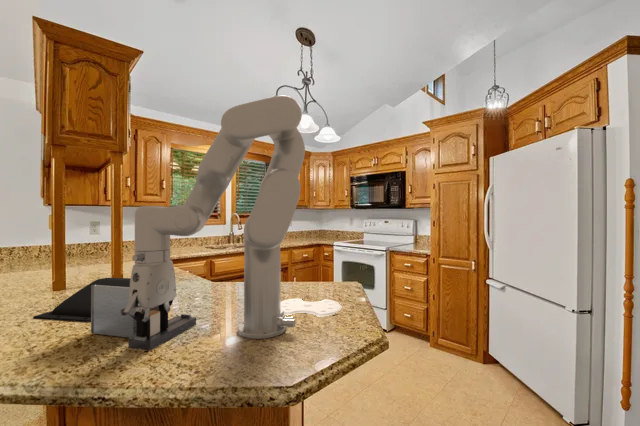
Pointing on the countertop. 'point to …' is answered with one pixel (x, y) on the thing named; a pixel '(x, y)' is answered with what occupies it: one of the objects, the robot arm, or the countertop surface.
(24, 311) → the countertop surface
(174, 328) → the fader strip
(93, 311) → the door
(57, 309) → the black piece
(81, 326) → the countertop surface
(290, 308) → the white bone shape
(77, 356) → the countertop surface
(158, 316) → the fader knob
